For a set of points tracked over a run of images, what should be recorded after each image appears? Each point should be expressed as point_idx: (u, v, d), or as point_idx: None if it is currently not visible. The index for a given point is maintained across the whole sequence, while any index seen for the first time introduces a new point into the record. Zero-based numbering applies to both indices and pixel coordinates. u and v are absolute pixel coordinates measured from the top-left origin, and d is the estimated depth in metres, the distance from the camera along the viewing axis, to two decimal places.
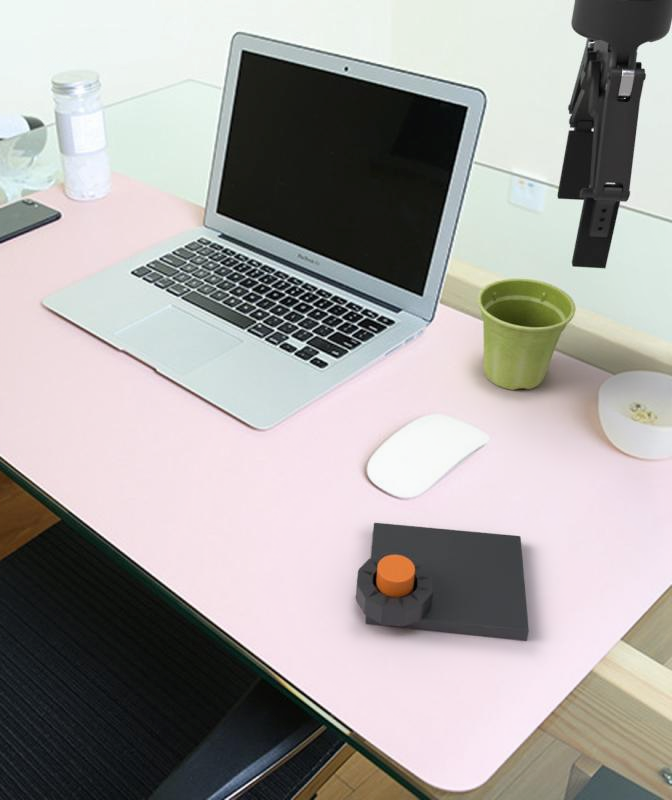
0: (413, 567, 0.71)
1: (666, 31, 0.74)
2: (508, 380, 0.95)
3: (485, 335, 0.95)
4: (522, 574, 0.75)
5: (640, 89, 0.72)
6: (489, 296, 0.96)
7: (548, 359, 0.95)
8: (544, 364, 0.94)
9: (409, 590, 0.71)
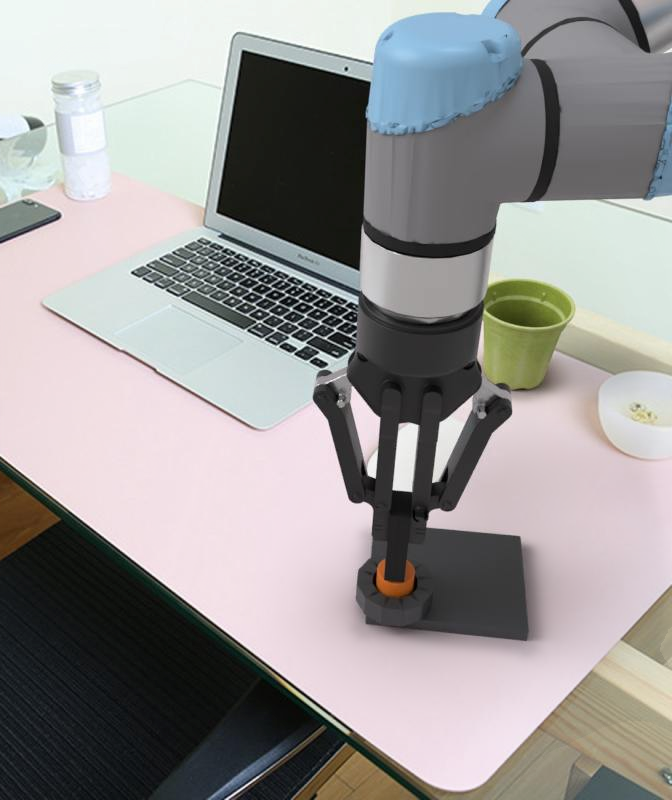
0: (413, 569, 0.71)
1: (382, 364, 0.57)
2: (508, 380, 0.95)
3: (485, 335, 0.95)
4: (522, 574, 0.75)
5: (320, 409, 0.62)
6: (489, 296, 0.96)
7: (548, 359, 0.95)
8: (544, 364, 0.94)
9: (409, 592, 0.71)
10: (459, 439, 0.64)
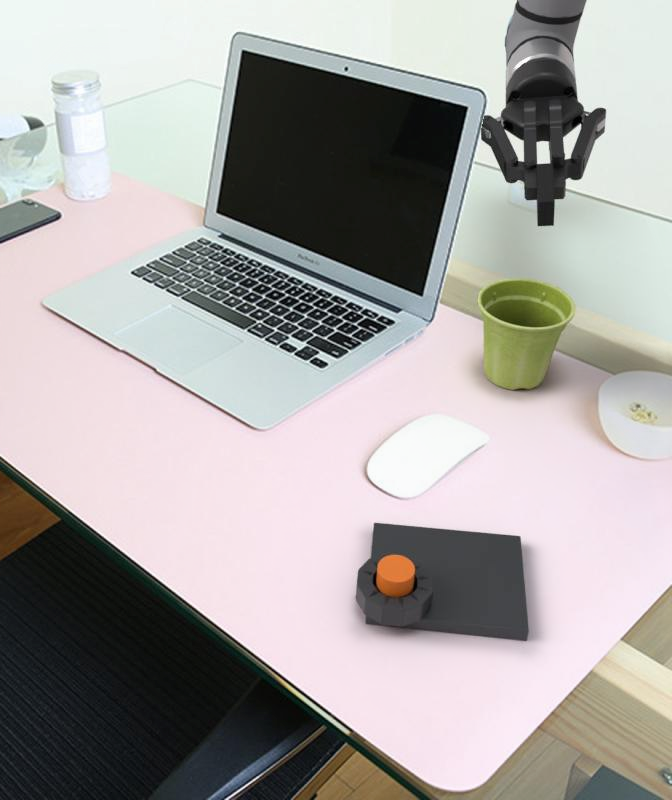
0: (413, 567, 0.71)
1: (522, 78, 1.01)
2: (508, 380, 0.95)
3: (485, 335, 0.95)
4: (522, 574, 0.75)
5: (485, 124, 1.00)
6: (489, 296, 0.96)
7: (548, 359, 0.95)
8: (544, 364, 0.94)
9: (409, 590, 0.71)
10: None
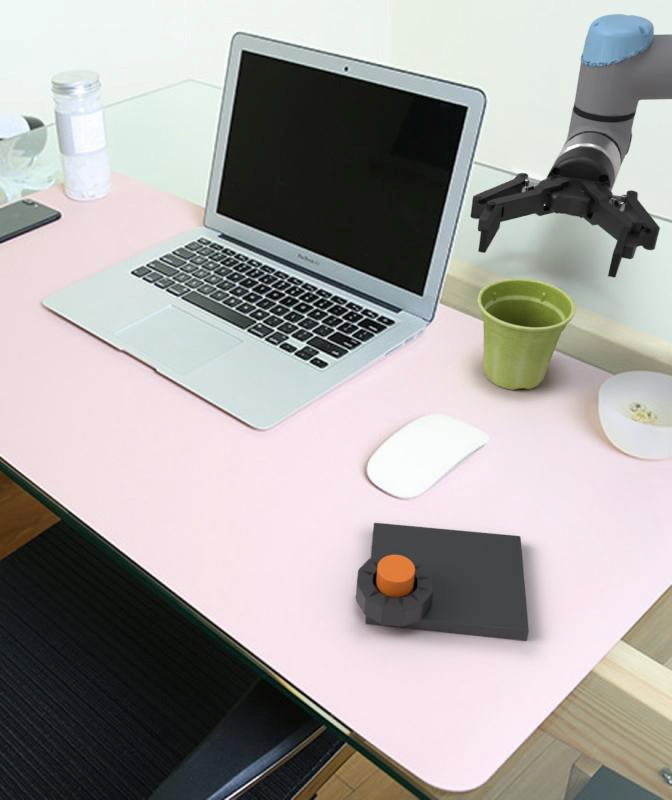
0: (413, 567, 0.71)
1: (565, 157, 1.12)
2: (508, 380, 0.95)
3: (485, 335, 0.95)
4: (522, 574, 0.75)
5: (515, 177, 1.12)
6: (489, 296, 0.96)
7: (548, 359, 0.95)
8: (544, 364, 0.94)
9: (409, 590, 0.71)
10: None
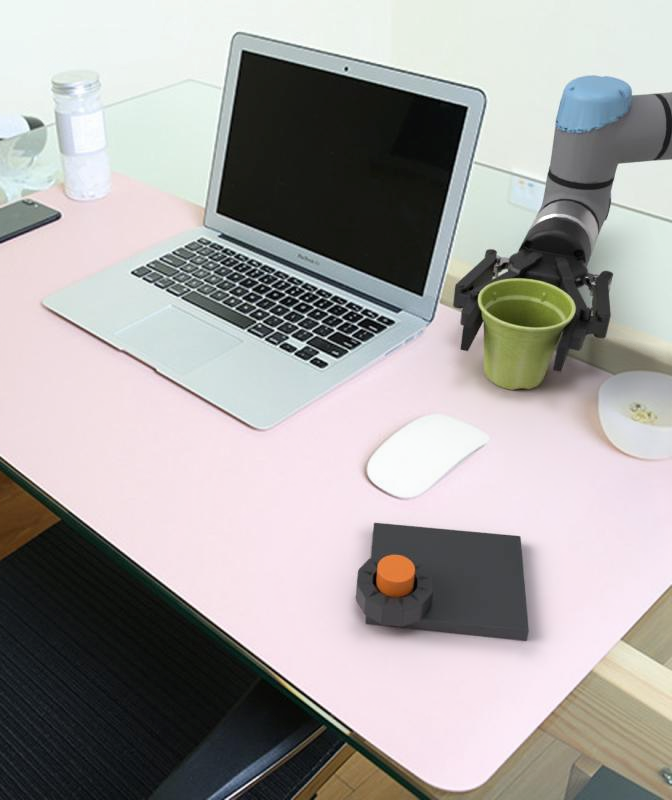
0: (413, 567, 0.71)
1: (538, 230, 1.04)
2: (508, 380, 0.95)
3: (485, 335, 0.95)
4: (522, 574, 0.75)
5: (485, 255, 1.04)
6: (489, 296, 0.96)
7: (548, 359, 0.95)
8: (544, 364, 0.94)
9: (409, 590, 0.71)
10: (593, 310, 0.99)
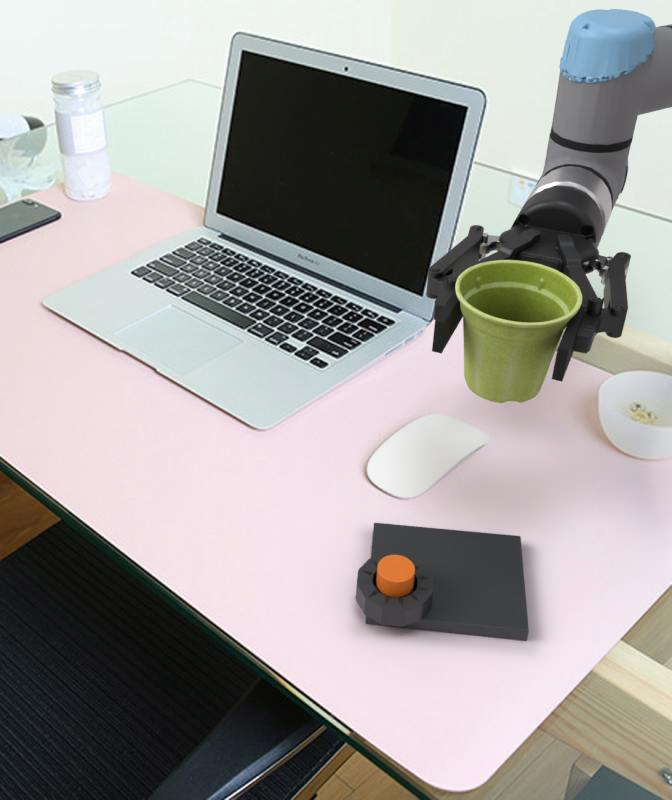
0: (413, 567, 0.71)
1: (536, 201, 0.83)
2: (495, 391, 0.74)
3: (465, 332, 0.73)
4: (522, 574, 0.75)
5: None
6: (471, 282, 0.75)
7: (546, 364, 0.73)
8: (541, 370, 0.73)
9: (409, 590, 0.71)
10: (605, 302, 0.77)
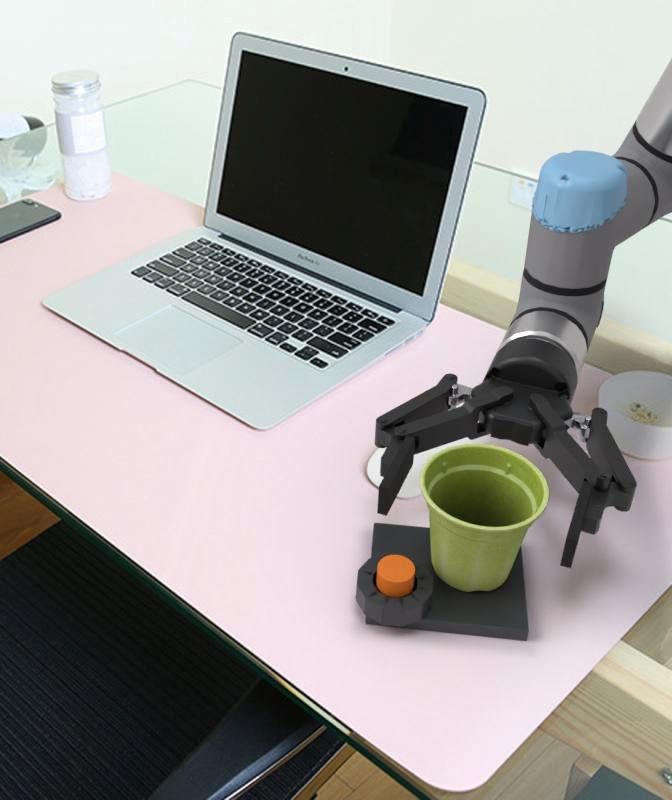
0: (413, 567, 0.71)
1: (508, 355, 0.81)
2: (462, 581, 0.72)
3: (431, 523, 0.72)
4: (522, 574, 0.75)
5: (440, 381, 0.81)
6: (436, 468, 0.73)
7: (513, 556, 0.72)
8: (508, 562, 0.71)
9: (409, 590, 0.71)
10: None
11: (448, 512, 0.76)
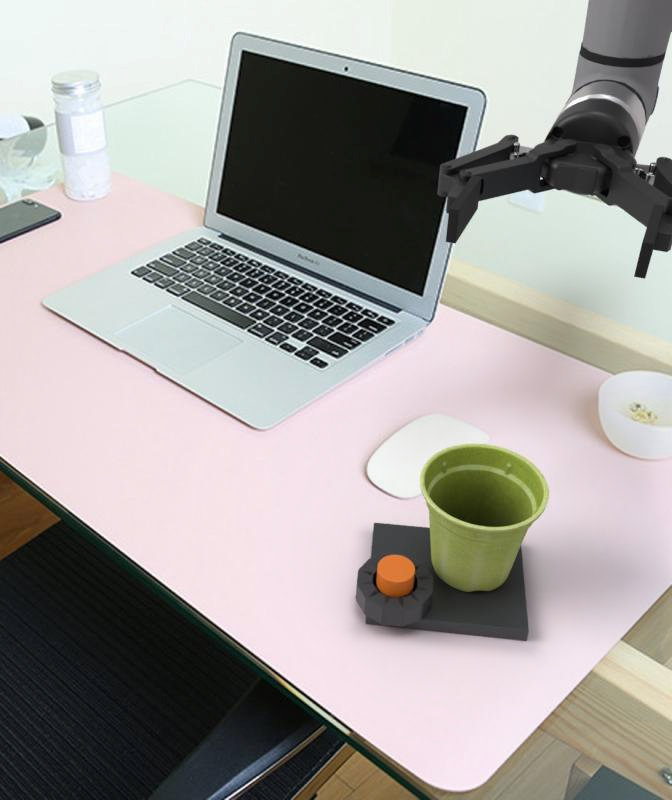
0: (413, 567, 0.71)
1: (570, 113, 0.80)
2: (462, 581, 0.72)
3: (431, 523, 0.72)
4: (522, 574, 0.75)
5: None
6: (436, 468, 0.73)
7: (513, 556, 0.72)
8: (508, 562, 0.71)
9: (409, 590, 0.71)
10: None
11: (448, 512, 0.76)
